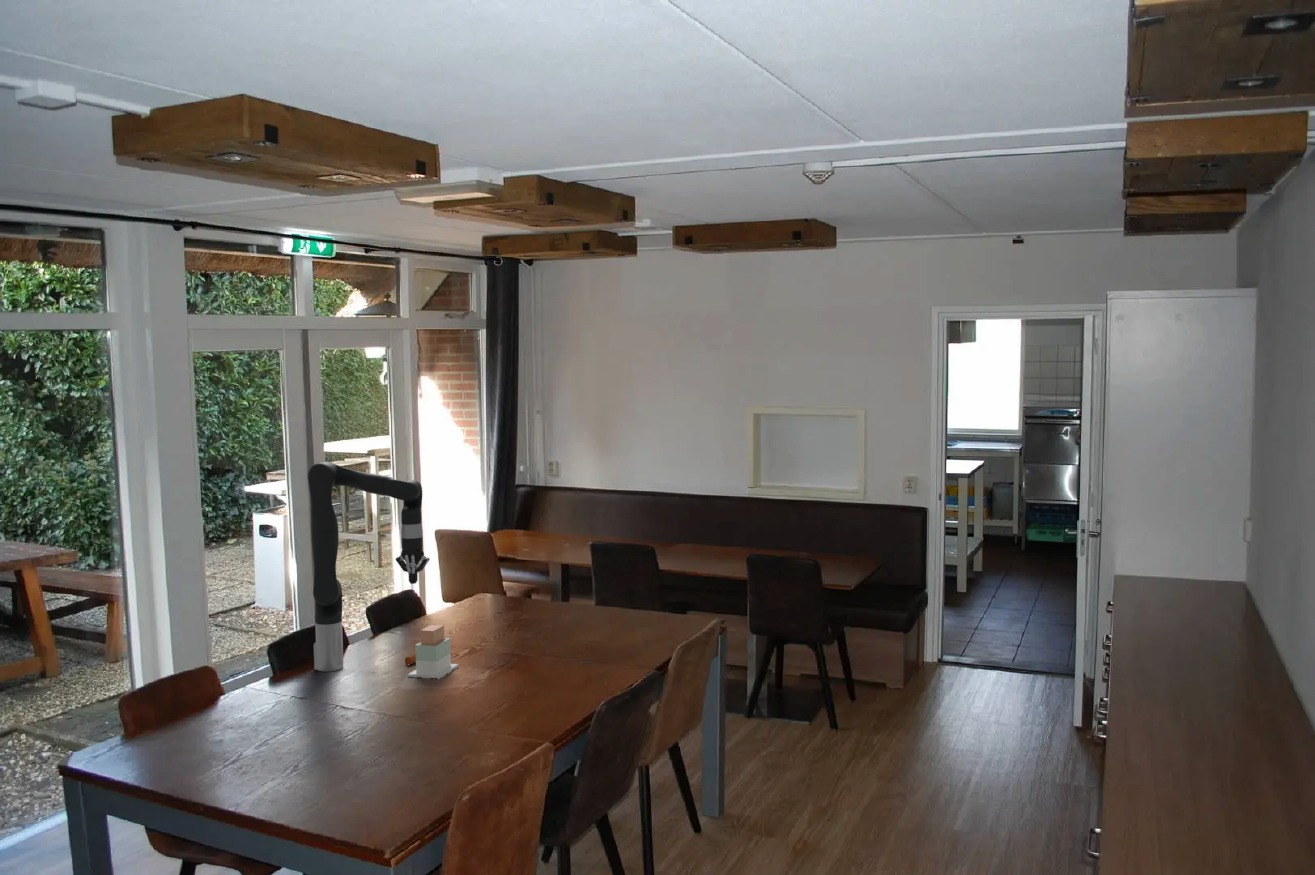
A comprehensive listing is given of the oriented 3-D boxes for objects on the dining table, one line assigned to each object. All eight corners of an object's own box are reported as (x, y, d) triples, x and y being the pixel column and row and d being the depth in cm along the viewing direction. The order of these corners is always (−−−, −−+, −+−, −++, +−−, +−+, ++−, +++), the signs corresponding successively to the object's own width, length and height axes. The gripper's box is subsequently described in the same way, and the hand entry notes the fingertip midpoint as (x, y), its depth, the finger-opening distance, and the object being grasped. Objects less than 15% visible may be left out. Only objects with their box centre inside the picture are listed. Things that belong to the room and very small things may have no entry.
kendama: (400, 654, 386) (435, 636, 404) (404, 669, 386) (438, 651, 404) (412, 653, 383) (447, 635, 401) (416, 668, 384) (450, 650, 401)
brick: (434, 647, 371) (433, 631, 370) (421, 647, 372) (420, 630, 372) (444, 641, 378) (443, 625, 378) (431, 641, 380) (431, 624, 379)
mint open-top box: (439, 679, 367) (438, 648, 366) (408, 676, 370) (407, 646, 369) (458, 667, 382) (457, 637, 381) (428, 664, 385) (427, 635, 384)
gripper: (433, 534, 380) (434, 582, 381) (400, 533, 383) (401, 580, 385) (423, 538, 373) (424, 586, 374) (390, 537, 376) (391, 584, 377)
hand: (413, 583), depth 379 cm, fingers closed
